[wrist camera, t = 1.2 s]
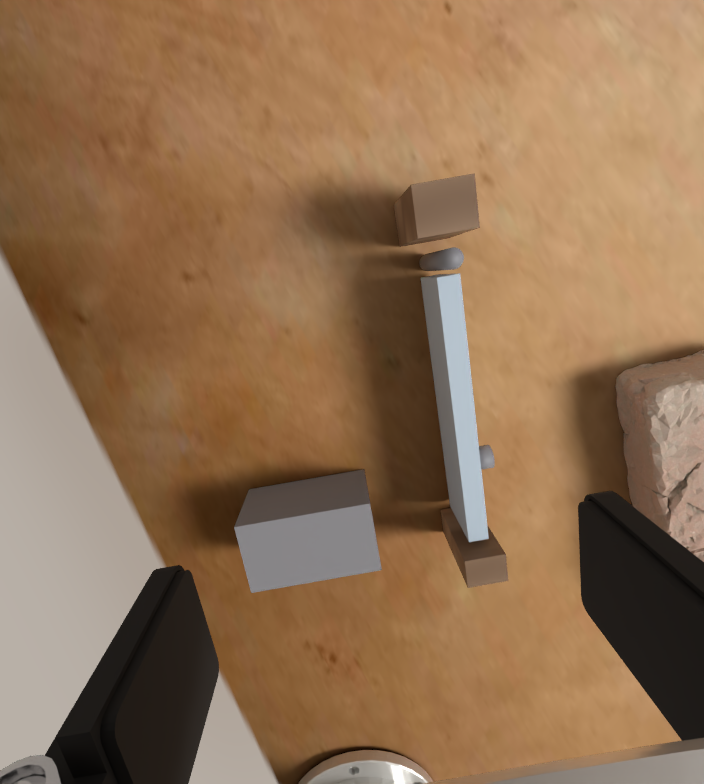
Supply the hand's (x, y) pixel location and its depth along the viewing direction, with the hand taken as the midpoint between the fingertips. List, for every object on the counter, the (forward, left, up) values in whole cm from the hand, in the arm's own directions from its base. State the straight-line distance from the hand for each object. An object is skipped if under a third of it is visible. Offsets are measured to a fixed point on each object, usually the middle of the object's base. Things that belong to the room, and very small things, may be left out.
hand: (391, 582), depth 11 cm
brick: (-10, -22, -20) cm, 31 cm away
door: (-1, -6, -19) cm, 20 cm away
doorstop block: (-8, +4, -20) cm, 22 cm away
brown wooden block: (+9, -6, -19) cm, 22 cm away
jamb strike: (-11, -6, -19) cm, 23 cm away
